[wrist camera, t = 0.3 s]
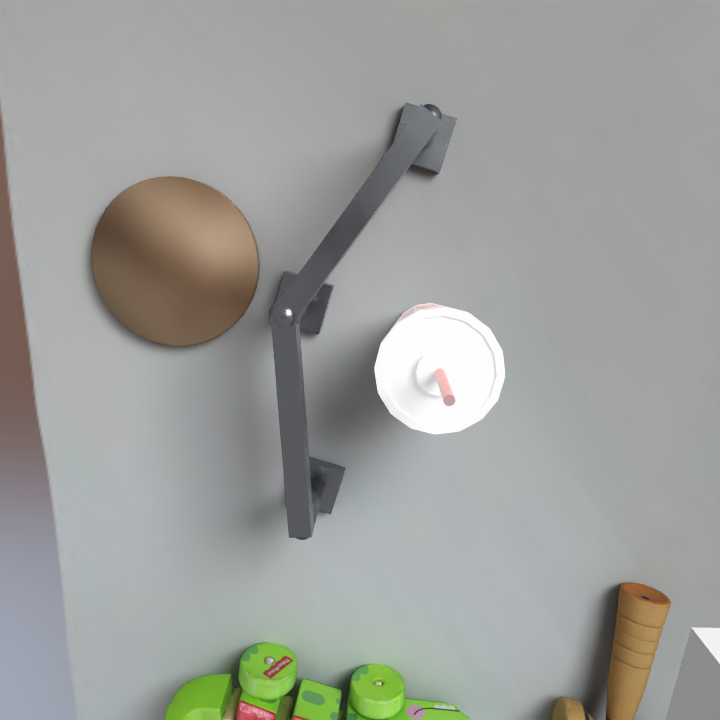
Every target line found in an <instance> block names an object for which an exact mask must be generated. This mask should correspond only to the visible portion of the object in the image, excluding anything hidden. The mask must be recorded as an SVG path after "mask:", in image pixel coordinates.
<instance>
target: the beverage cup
mask: <svg viewBox="0 0 720 720" xmlns="http://www.w3.org/2000/svg"><path fill="white" fill-rule="evenodd" d="M374 370H375V377H376V384H377V390H378V394H379V395H380V397H381V399H382V400H383V402H384V404H385V405H386V407H387V409H388V410H389V412H390V414H392V415H393V416H394V417H396V418H397V419H398V420H400V421H401V422H403V423H404V424H405V425H407V426H408V427H409V428H411V429H415V430H419V431H423V432H427V433H431V434H443V433H451V432H458V431H461V430H463V429H465V428H467V427H469V426H470V425H472V424H474V423H476V422H478V421H480V420H481V419H483V417H484V416H485V415H486V414H487V412H488V411H489V410H490V409H491V408H492V406H493V405H494V404H495V403H496V402H497V400H498V398H499V395H500V392H501V388H502V385H503V382H504V378H505V369H504V359H503V351H502V349H501V347H500V346H499V344H498V342H497V340H496V338H495V337H494V335H493V333H492V331H491V330H490V328H488V327H487V326H486V325H484V324H483V323H482V322H480V321H479V320H478V319H476V318H475V317H474V316H472V315H471V314H470V313H468V312H465V311H461V310H457V309H453V308H449V307H446V306H441V305H437V304H433V303H427V304H420V305H415V306H414V307H412V308H410V309H409V310H407V311H405V312H404V313H403V314H402V315H401V316H400V318H399V319H398V320H397V322H396V323H395V324H394V326H393V327H392V328H391V330H390V331H389V332H388V334H387V335H386V336H385V338H384V339H383V340H382V342H381V344H380V348H379V351H378V355H377V359H376V363H375V367H374Z"/></svg>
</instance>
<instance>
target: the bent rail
mask: <svg viewBox="0 0 720 720" xmlns="http://www.w3.org/2000/svg"><path fill="white" fill-rule="evenodd" d="M456 119H457V118H454V117H451V116H447V115H444V114H441V112H440V110H439V108H438V107H436V106H435V105H432V104H427V105H424V106H423V105H420V107H419V106H415V105H412V104H409V103H406V102H405V106H404V109H403V112H402V116H401V119H400V122H399V126H398V129H397V132H396V136H395V139H394V142H393V144H392V146H391V147H390V148H389V150H388V151H387V153H386V154H385V155H384V157H383V158H382V159H381V161H380V162H379V164H378V165H377V166H376V168H375V169H374V171H373V172H372V173H371V175H370V176H369V177H368V179H367V180H366V182H365V183H364V184H363V186H362V187H361V189H360V190H359V191H358V193H357V194H356V195H355V197H354V198H353V200H352V201H351V202H350V204H349V205H348V207H347V208H346V209H345V211H344V212H343V213H342V215H341V216H340V218H339V219H338V220H337V222H336V223H335V225H334V226H333V227H332V229H331V230H330V231H329V233H328V234H327V236H326V237H325V238H324V240H323V241H322V242H321V244H320V245H319V247H318V248H317V249H316V251H315V252H314V254H313V255H312V256H311V258H310V259H309V260H308V262H307V263H306V265H305V266H304V267H303V269H302V270H301V272H300V273H299V274H295V273H292V272H289V271H284V275H283V278H282V282H281V286H280V289H279V293H278V296H277V300H276V302H275V303H274V304H273V305H272V307H271V308H270V311H269V319H270V322H271V325H272V337H273V349H274V361H275V373H276V386H277V398H278V410H279V422H280V434H281V446H282V458H283V470H284V482H285V494H286V506H287V519H288V531H289V538H297V539H300V540H304V539H307V538H309V537H312V533H313V529H314V524H315V521H316V517H317V513H318V511H322V512H325V513H328V514H331V512H332V509H333V506H334V503H335V500H336V496H337V493H338V490H339V487H340V484H341V481H342V478H343V474H344V471H345V467H341V466H338V465H335V464H331V463H328V462H325V461H322V460H318V459H315V458H312V457H309V449H308V436H307V422H306V409H305V395H304V382H303V368H302V354H301V341H300V329H304V330H307V331H310V332H313V333H317V334H319V333H320V331H321V328H322V324H323V321H324V318H325V314H326V311H327V307H328V304H329V301H330V297H331V294H332V290H333V287H334V285H331V284H328V283H325V281H326V280H327V278H328V277H329V276H330V274H331V273H332V272H333V270H334V269H335V268H336V266H337V265H338V264H339V262H340V261H341V259H342V258H343V257H344V255H345V254H346V253H347V251H348V250H349V249H350V247H351V246H352V244H353V243H354V242H355V240H356V239H357V238H358V236H359V235H360V234H361V232H362V231H363V230H364V228H365V227H366V225H367V224H368V223H369V221H370V220H371V219H372V217H373V216H374V215H375V213H376V212H377V210H378V209H379V208H380V206H381V205H382V204H383V202H384V201H385V200H386V198H387V197H388V195H389V194H390V193H391V191H392V190H393V189H394V187H395V186H396V185H397V183H398V182H399V181H400V179H401V178H402V176H403V175H404V174H405V172H406V171H407V170H408V168H409V167H410V166H411V165H413V166H416V167H419V168H422V169H426V170H429V171H432V172H435V173H438V174H439V172H440V170H441V167H442V163H443V160H444V157H445V154H446V151H447V148H448V145H449V141H450V138H451V135H452V132H453V129H454V126H455V123H456Z"/></svg>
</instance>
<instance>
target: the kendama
mask: <svg viewBox="0 0 720 720" xmlns="http://www.w3.org/2000/svg"><path fill="white" fill-rule="evenodd" d="M670 604H671V601H670V599H669V598H668V597H667V596H666V595H664V594H663V593H661V592H660V591H658V590H656V589H653V588H651V587H648V586H646V585H642V584H637V583H623V584H621V585H620V590H619V600H618V610H617V617H616V626H615V633H614V640H613V646H612V654H611V660H610V667H609V676H608V687H607V706H606V720H633V719H634V717H635V714H636V712H637V709H638V707H639V704H640V701H641V699H642V696H643V693H644V690H645V687H646V684H647V680H648V677H649V674H650V670H651V666H652V663H653V660H654V656H655V652H656V650H657V646H658V642H659V639H660V636H661V633H662V629H663V625H664V623H665V620H666V617H667V614H668V611H669V608H670ZM551 720H594V719H593V718H592V717H591V716H590V715H589V714H588V713H587V711H586V710H585V709H584V707H583V706H582V704H581V702H580V701H578V700H575V699H570V698H566V697H560V698H559V699H558V701H557V703H556V705H555V707H554V710H553V714H552V718H551Z"/></svg>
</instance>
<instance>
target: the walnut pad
mask: <svg viewBox="0 0 720 720" xmlns="http://www.w3.org/2000/svg"><path fill="white" fill-rule="evenodd" d="M92 267H93V273H94V278H95V282H96V284H97V287H98V290H99V292H100V294H101V296H102V298H103V300H104V302H105V304H106V305H107V306H108V308H109V309H110V311H111V312H112V313H113V314H114V316H115V317H116V318H117V319H118V320H119V321H120V322H121V323H122V324H124V325H125V326H126V327H127V328H128V329H130V330H131V331H133V332H134V333H136V334H138V335H140V336H141V337H143V338H145V339H148V340H151V341H153V342H156V343H160V344H165V345H173V346H187V345H193V344H198V343H202V342H205V341H208V340H210V339H212V338H214V337H216V336H218V335H220V334H221V333H223V332H225V331H226V330H228V329H229V328H230V327H231V326H233V325H234V324H235V323H236V322H237V321H238V320H239V319H240V318H241V317H242V315H243V314H244V313H245V311H246V310H247V308H248V307H249V305H250V303H251V301H252V299H253V296H254V293H255V291H256V288H257V283H258V278H259V254H258V249H257V244H256V241H255V238H254V235H253V232H252V230H251V228H250V226H249V224H248V222H247V220H246V219H245V217H244V216H243V214H242V213H241V212H240V210H239V209H238V208H237V207H236V206H235V205H234V204H233V203H232V202H231V201H230V200H229V199H228V198H227V197H226V196H224V195H223V194H222V193H220V192H219V191H217V190H215V189H214V188H212V187H210V186H208V185H206V184H203V183H200V182H198V181H194V180H190V179H186V178H182V177H157V178H151V179H147V180H144V181H141V182H139V183H137V184H135V185H133V186H131V187H129V188H127V189H126V190H125V191H123V192H122V193H120V194H119V195H118V196H117V197H116V198H115V199H114V200H113V201H112V202H111V203H110V205H109V206H108V207H107V208H106V210H105V211H104V213H103V215H102V216H101V218H100V220H99V223H98V225H97V227H96V231H95V234H94V238H93V245H92Z"/></svg>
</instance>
